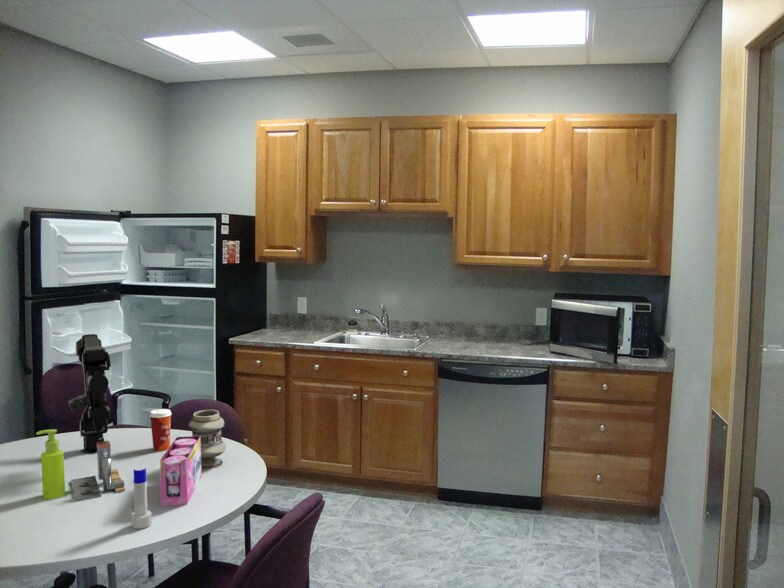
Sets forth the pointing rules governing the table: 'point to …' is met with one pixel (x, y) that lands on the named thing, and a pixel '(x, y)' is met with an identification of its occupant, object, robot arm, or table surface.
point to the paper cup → (161, 428)
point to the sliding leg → (102, 455)
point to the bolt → (140, 500)
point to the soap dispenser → (52, 467)
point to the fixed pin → (109, 476)
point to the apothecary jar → (208, 436)
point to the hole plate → (85, 488)
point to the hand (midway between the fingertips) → (98, 432)
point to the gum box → (180, 470)
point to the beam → (114, 478)
